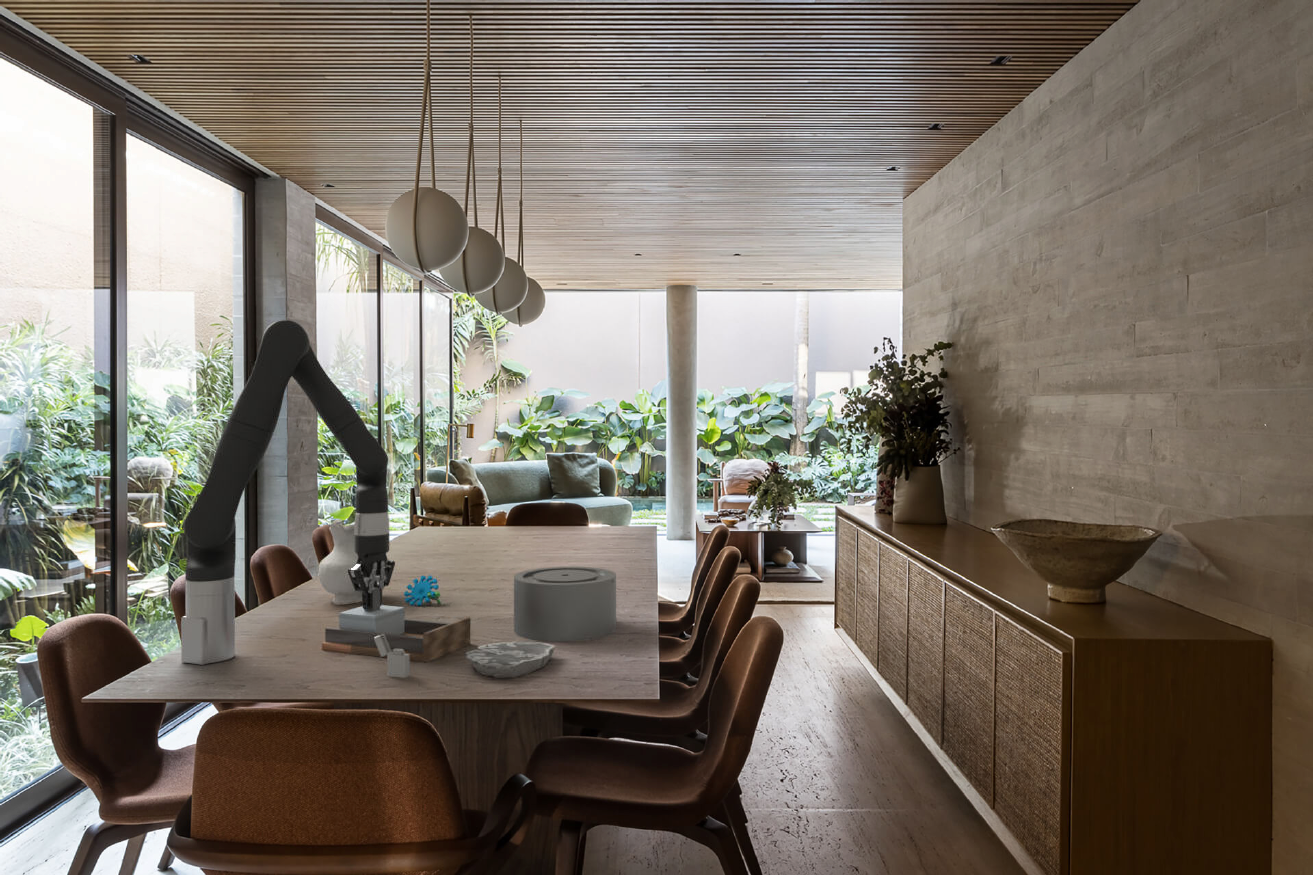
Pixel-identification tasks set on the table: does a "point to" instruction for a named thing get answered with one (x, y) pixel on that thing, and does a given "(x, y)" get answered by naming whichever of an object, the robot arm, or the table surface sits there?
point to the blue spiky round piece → (422, 591)
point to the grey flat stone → (510, 658)
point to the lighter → (394, 658)
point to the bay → (404, 639)
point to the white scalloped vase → (341, 565)
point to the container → (564, 603)
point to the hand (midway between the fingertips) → (372, 607)
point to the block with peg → (374, 618)
